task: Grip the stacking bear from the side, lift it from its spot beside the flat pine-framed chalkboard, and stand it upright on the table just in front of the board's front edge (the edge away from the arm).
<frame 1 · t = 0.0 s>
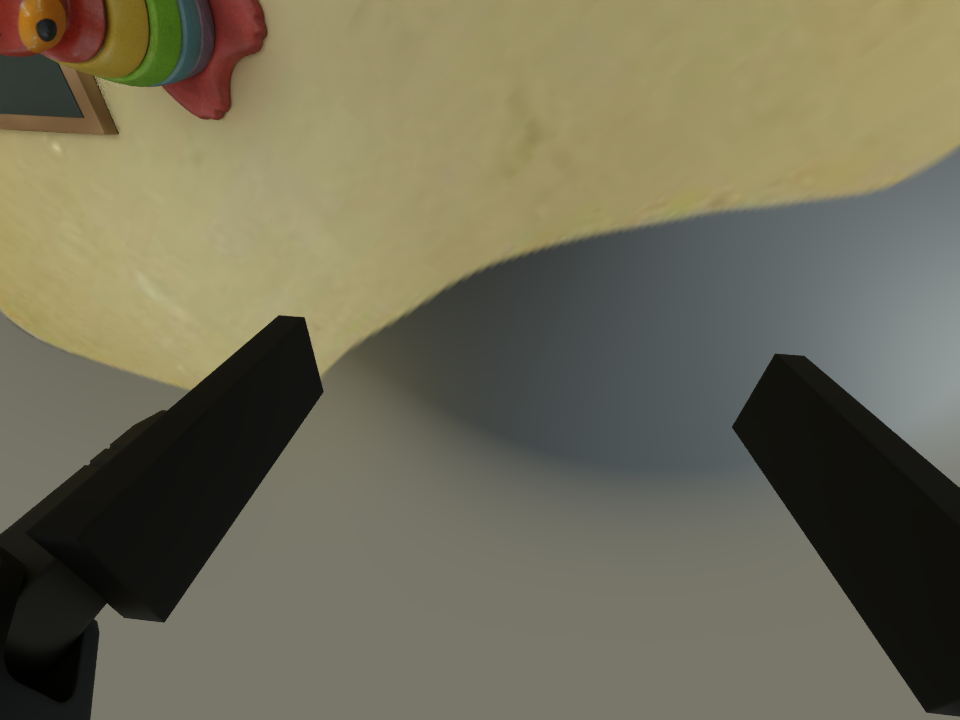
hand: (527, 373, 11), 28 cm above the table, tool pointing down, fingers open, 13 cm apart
stacking bear: (189, 22, 29), on the table
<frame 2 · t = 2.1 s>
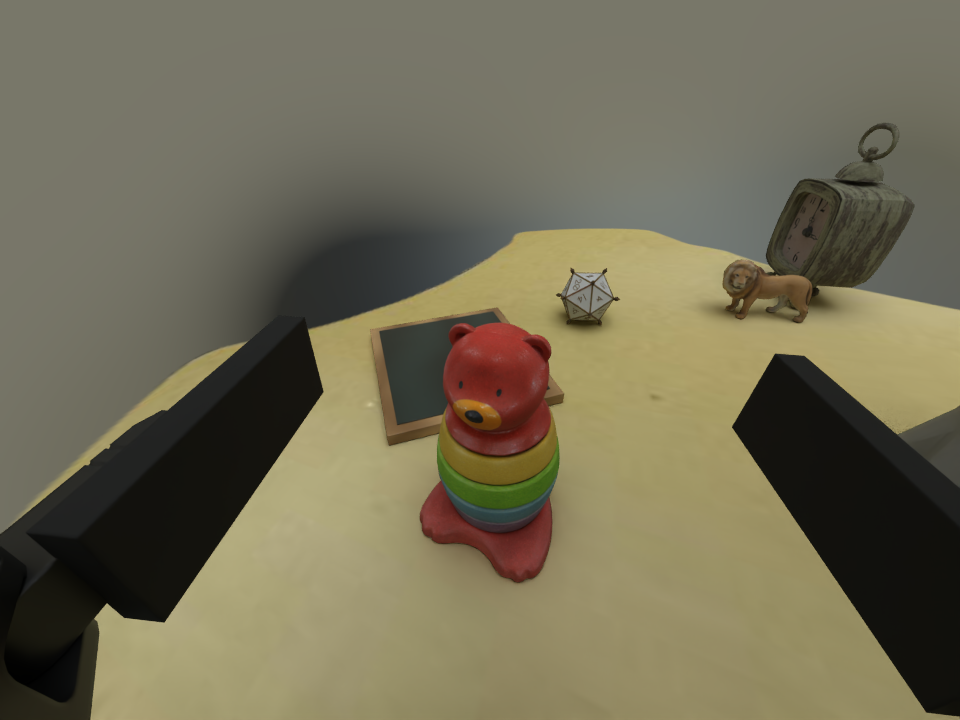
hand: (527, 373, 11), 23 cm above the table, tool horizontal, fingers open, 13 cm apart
game die: (582, 321, 58), on the table
chalkboard: (455, 365, 49), on the table
tabletop clock: (797, 296, 64), on the table
stacking bear: (495, 508, 32), on the table
lion figurine: (754, 317, 58), on the table
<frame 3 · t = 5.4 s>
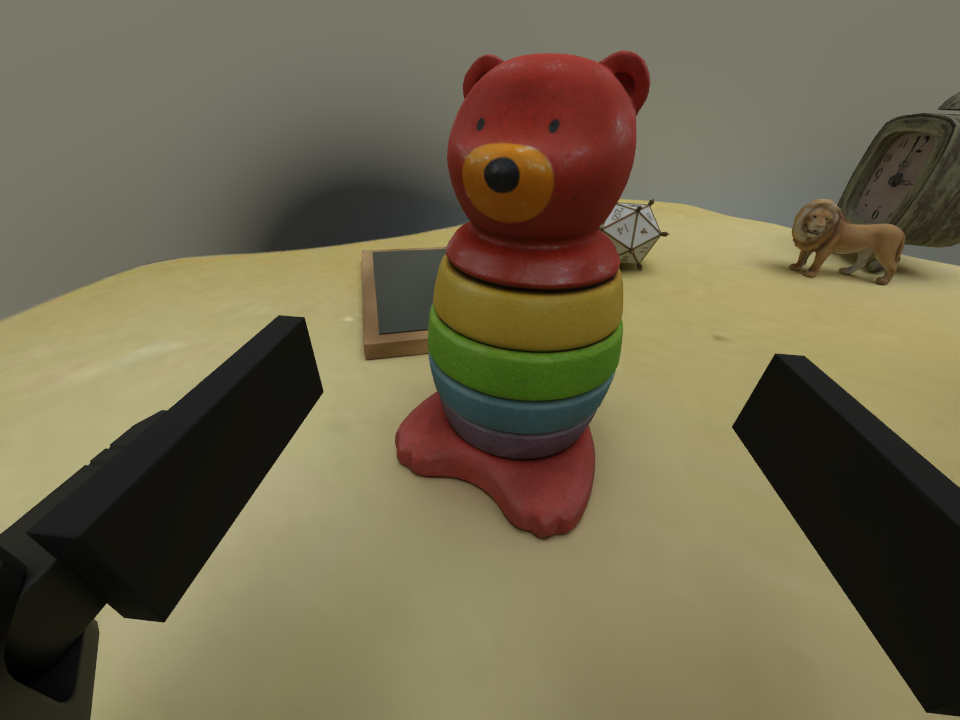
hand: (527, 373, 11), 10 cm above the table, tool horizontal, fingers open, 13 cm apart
game die: (617, 266, 48), on the table
chalkboard: (462, 292, 39), on the table
tabletop clock: (871, 264, 54), on the table
stacking bear: (507, 439, 22), on the table
lion figurine: (826, 277, 48), on the table
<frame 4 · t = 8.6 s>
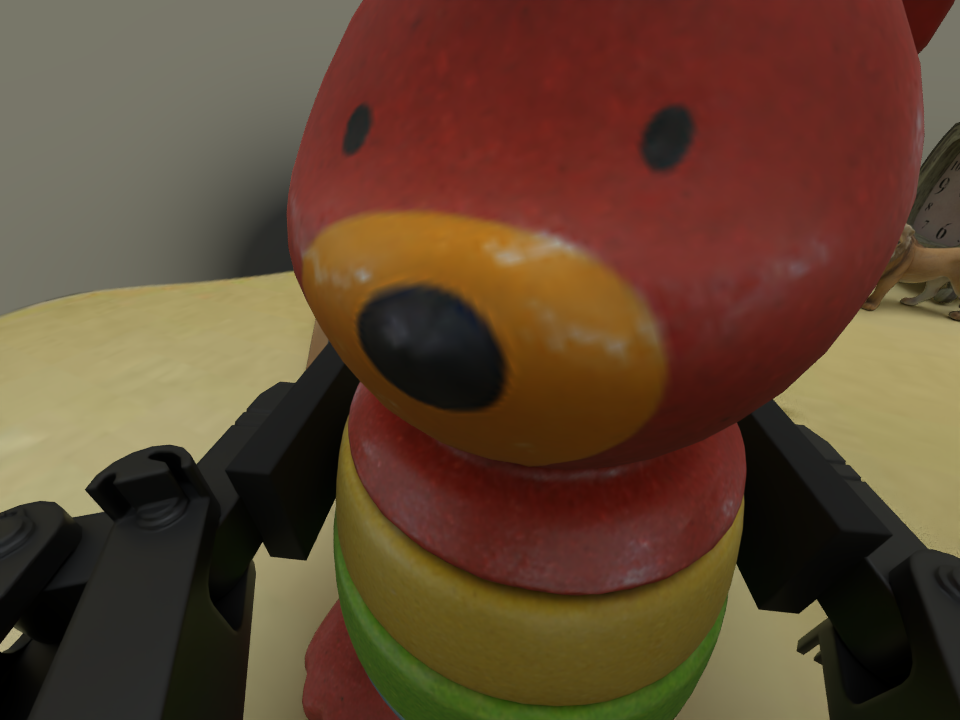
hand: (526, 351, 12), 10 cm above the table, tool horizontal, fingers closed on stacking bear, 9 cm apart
chalkboard: (444, 339, 31), on the table
tabletop clock: (932, 290, 45), on the table
stacking bear: (496, 635, 14), on the table, touching gripper
lion figurine: (887, 310, 40), on the table
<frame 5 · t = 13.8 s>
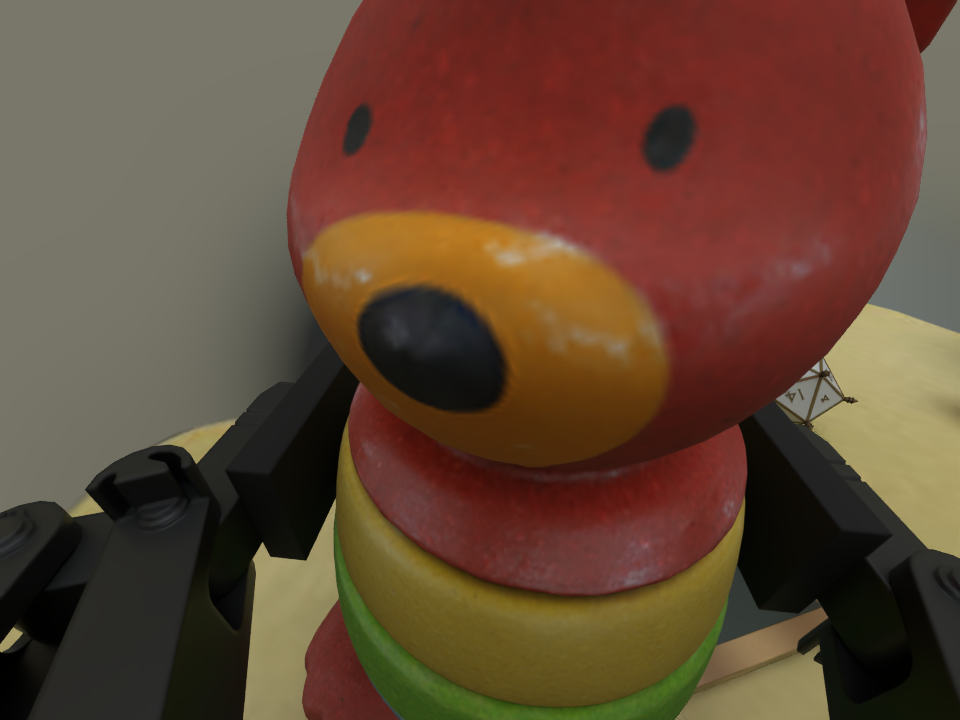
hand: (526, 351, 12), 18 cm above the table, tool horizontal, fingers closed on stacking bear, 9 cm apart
game die: (764, 419, 37), on the table
chalkboard: (594, 506, 28), on the table
stacking bear: (496, 636, 14), point 8 cm above the table, touching gripper
when the fingers open (9 cm above the table, at t = 19.2 s): stacking bear stays where it is, on the table.
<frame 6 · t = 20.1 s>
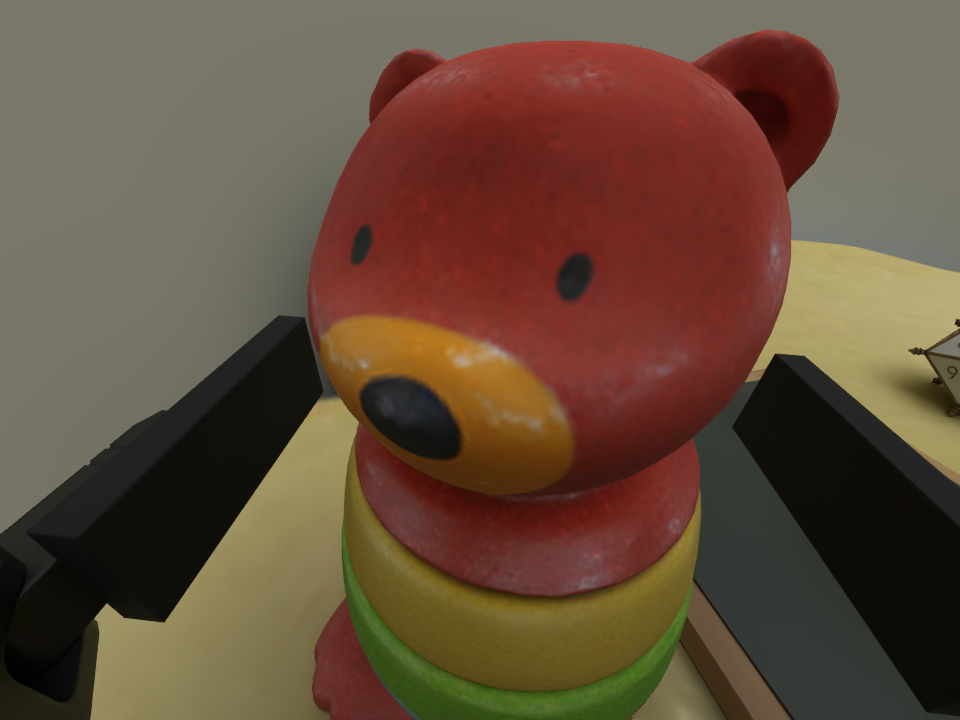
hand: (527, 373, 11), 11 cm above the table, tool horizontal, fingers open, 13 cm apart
chalkboard: (817, 535, 19), on the table
stacking bear: (491, 634, 15), on the table
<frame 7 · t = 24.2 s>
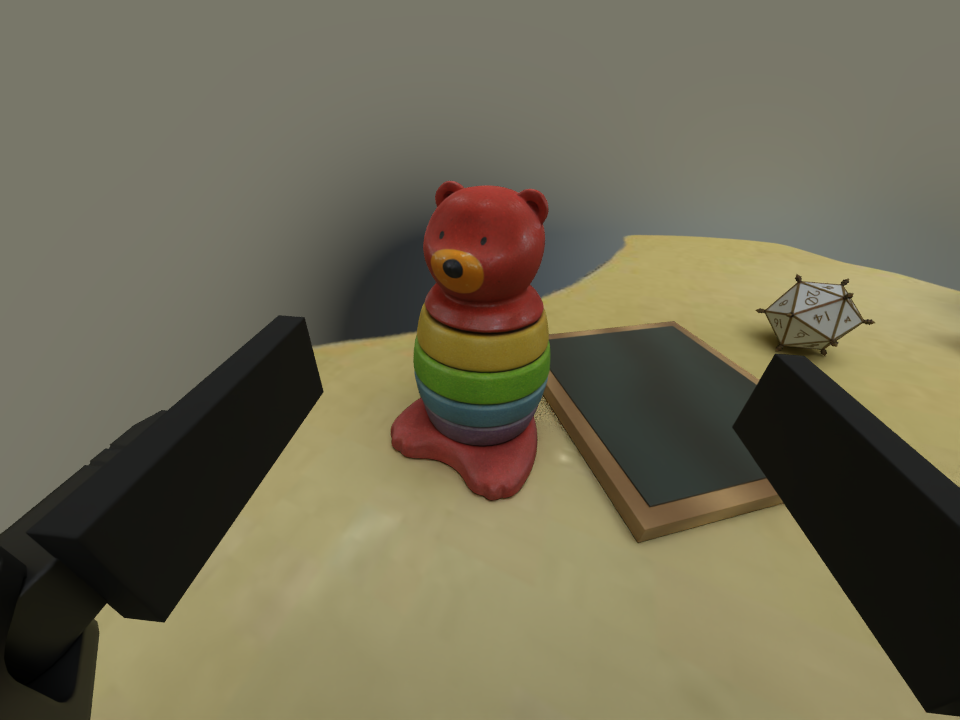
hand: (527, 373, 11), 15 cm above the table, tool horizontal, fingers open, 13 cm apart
game die: (791, 348, 43), on the table
chalkboard: (659, 401, 33), on the table
stacking bear: (475, 433, 29), on the table
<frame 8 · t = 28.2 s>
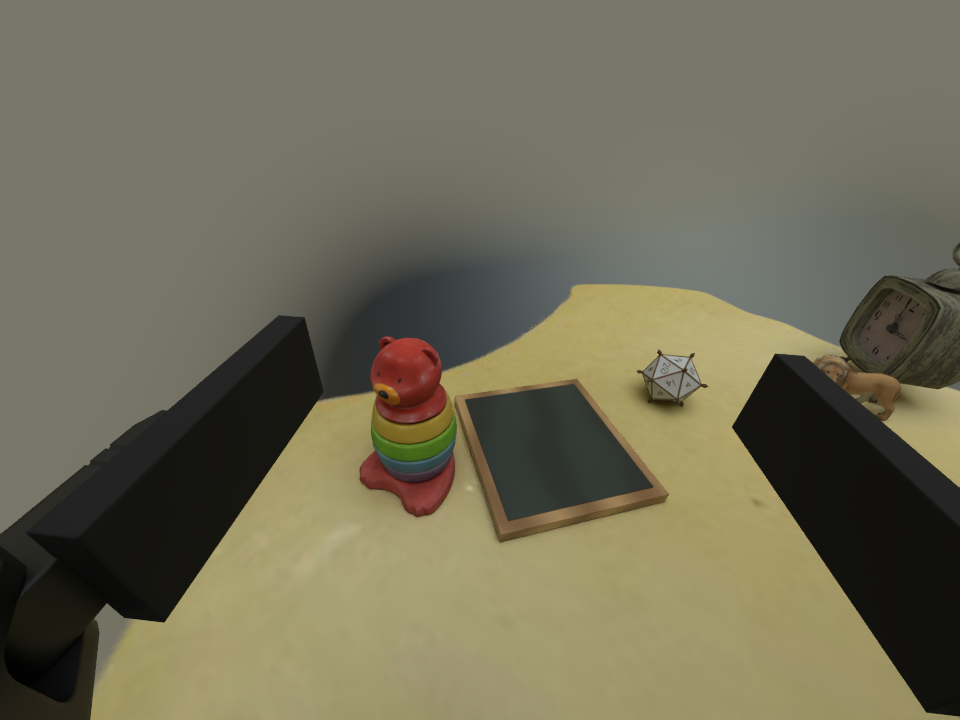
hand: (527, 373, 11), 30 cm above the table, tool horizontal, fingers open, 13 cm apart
game die: (661, 399, 58), on the table
chalkboard: (546, 446, 49), on the table
tabletop clock: (872, 386, 63), on the table
stacking bear: (415, 470, 45), on the table
lion figurine: (835, 409, 58), on the table
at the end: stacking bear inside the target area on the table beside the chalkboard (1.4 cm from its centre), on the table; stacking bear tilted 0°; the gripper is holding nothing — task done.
